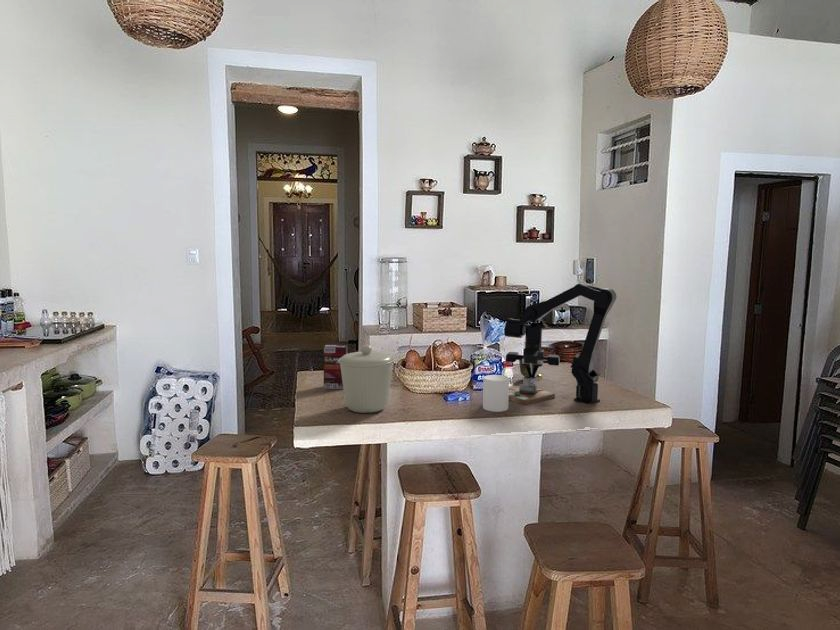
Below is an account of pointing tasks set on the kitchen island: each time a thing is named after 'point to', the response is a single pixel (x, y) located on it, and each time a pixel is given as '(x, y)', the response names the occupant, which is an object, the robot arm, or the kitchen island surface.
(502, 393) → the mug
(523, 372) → the cup
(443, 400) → the kitchen island surface
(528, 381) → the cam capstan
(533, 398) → the stand
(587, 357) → the robot arm
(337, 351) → the supplement box
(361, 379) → the canister
